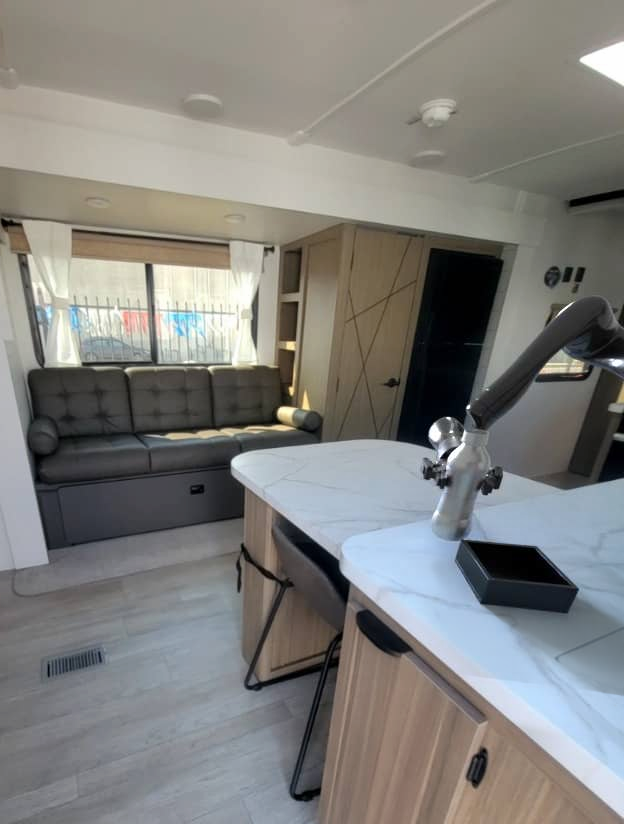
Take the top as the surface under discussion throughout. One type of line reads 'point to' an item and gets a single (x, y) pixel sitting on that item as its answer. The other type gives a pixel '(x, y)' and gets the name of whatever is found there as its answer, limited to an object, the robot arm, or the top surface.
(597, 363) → the robot arm
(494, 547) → the dark square tray
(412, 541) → the top surface
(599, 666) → the top surface
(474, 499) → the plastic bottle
